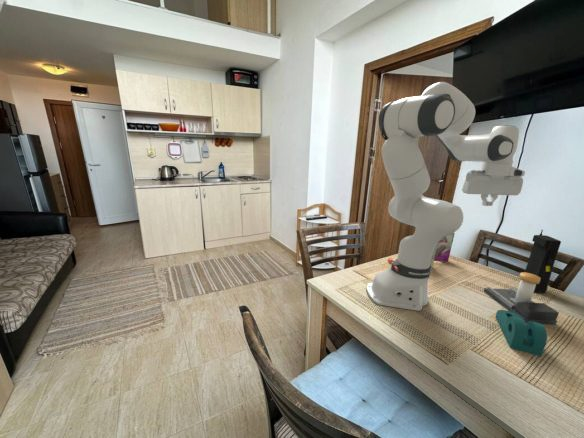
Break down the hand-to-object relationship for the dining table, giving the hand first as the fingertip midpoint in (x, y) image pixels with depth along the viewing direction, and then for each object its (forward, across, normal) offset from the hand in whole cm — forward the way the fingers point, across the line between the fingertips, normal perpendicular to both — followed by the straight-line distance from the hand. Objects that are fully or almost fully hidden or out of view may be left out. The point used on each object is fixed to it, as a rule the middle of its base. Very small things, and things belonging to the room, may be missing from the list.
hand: (486, 205), depth 97 cm
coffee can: (+34, -14, +14) cm, 40 cm away
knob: (+33, +6, -19) cm, 38 cm away
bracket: (+35, -6, -32) cm, 47 cm away
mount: (+34, +6, -17) cm, 39 cm away
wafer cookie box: (+34, -3, +22) cm, 41 cm away
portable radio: (+34, +24, -4) cm, 42 cm away
